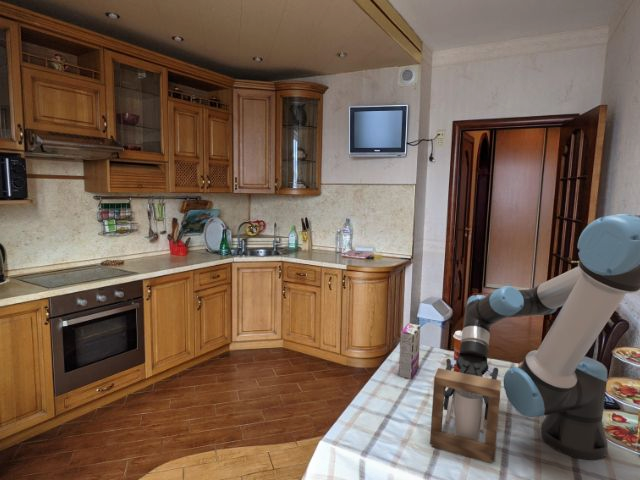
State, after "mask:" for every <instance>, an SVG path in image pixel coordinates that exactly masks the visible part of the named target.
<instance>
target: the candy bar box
mask: <svg viewBox="0 0 640 480" xmlns="http://www.w3.org/2000/svg"><path fill="white" fill-rule="evenodd" d="M420 339H421V325H420V324H414V323H407V324H406V325H405V327H403V329H402V330H401V331H400V340H399V360H398V362H399V363H398V377H401V378H403V377H404V378H405V379H410V380H413V378H414V376H415V374H416V373H417V371H418V369H419V365H420V364H419V363H420V345H421V343H420V342H421V340H420Z"/></svg>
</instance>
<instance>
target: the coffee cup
mask: <svg viewBox="0 0 640 480" xmlns="http://www.w3.org/2000/svg"><path fill="white" fill-rule="evenodd" d="M462 331H463V330H456V331H455V332H454V334H453V335H452V336H453V360H457V359H458V357H459V352H460V345H461V338H462ZM453 371H455V372H459V368H458V366H457V365H455V366H454V368H453Z"/></svg>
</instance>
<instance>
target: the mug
mask: <svg viewBox="0 0 640 480" xmlns="http://www.w3.org/2000/svg"><path fill="white" fill-rule="evenodd" d="M451 397H452V399H453V402H452V413H453V416H454V423H453V424H454V425H453V426H454V429H453V430H454V432H453V433H454V434H453V435H455V436H459V437H463V438H467V439H471V440H475V441H478V442H479V440H480V438H481V436H480V435H481V433H480V423H481V414H482V405H483V404H484V399H483V395H480V394H476V393H471V392H467V391H462V390H457V389H454V392H453V394H452V396H451Z"/></svg>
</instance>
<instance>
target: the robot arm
mask: <svg viewBox="0 0 640 480" xmlns="http://www.w3.org/2000/svg"><path fill="white" fill-rule="evenodd" d="M577 249H578V253H577V254H578V259H579V261H578V264H577V266H575V267H574V268H572V269H570V270H568V271H565V272H564V273H562V274H560V275H557V276H555V277H552V278H551V279H549V280H547V281H544V282H542V283H540V284H538V285H537V286H534V287H532V288H529V289H517V288H515V287H513V286H511V285H505V286H502V287H500V288H497V289H495V290H494V291H492V292H491V293H490V294H488V295H487V296H486V295H483V294H476V295H471V296H470V297H468V299H467V302H466V305H465V309H464V311H465V312H464V317H463V318H464V319H463V325H462V330H461V331H462V338H461V345H460V352H459V357H458V359H457V360H454V359H450V358H446V360H445V361H446V363H445V365H446V367H445V370H450V371H452V370H454V366H455V365H457V366H458V368H459V372H460V373H465V374H470V375H475V376H480V377H484V376H483V375H485V374H486V373H487V372H488V375H489V377H491V379H495V380H498V376H499V368H498V367H491V366H489V363H488V358H489V357H488V356H489V346H490V337H491V328H492V325H494V324H496V323H498V322H500V321H502V320H505V319H507V318H508V319H509V318H519V317H520V318H521V317H523V318H524V317H530V316H546V315H549V314H550V315H551V314H553V313H555V312H557V310H558V308H561V309H560V311H559V312H558V314H557V315H556V317H555V320H554V321H553V323H552V325H551V326H550V328H549V329H548V332H547V333H546V335H545V336H544V339H543V340H542V342H541V344H540V346H539V347H538V349H537V350H536V349H534V350H531V351H529V352H528V353H527V354H526V355H525V357H524V359H523V361H521V362H522V364H521V366H519V365H518V366H519V367H517V366H513V367H511V368H509V369H507V371H505V373H504V376H503V389H504V392H505V395H506V397H507V399H508V401H509V403H510V404H511V406H512V407H513V408H514V410H516V412H517V413H519V414H520V415H522V416H524V417H527V418H528V417H529V418H533V417H534V418H535V417H536V418H540V417H544V416H545V417H544V419H543V420H542V423H541V425H540V431H539V432H540V437H541V438H542V440H543V441H544V442H545V443H546V444H547V445H549V446H550V447H551V448H552V449H554V450H556V451H559V452H560V453H563V454H564V455H568V456H571V457H574V458H577V459H578V458H579V459H583V460H591V461H592V460H601V459H603V458H605V457H606V456H607V454H608V446H609V443H608V439H607V435H606V432H605V428H604V424H603V415H604V408H605V401H606V400H605V399H606V391H607V385H608V382H609V381H608V369H607V367H606V366H605V365H604V364H603V363H602V362H600V361H598V360H595V359H594V358H591V357H589V356H586V355H587V353H588V352H589V350H591V347H592V346H593V345H594V343H595V342H596V340H597V338H598V337H599V335H600V334H601V332H602V331H603V330H604V328H605V326H606V324H607V323H608V322H609V320H610V319H611V317H612V316H613V314H614V312H615V311H616V309H617V308H618V306H619V305H620V303H621V302H622V300H623V298H624V297H625V296H626V295H627V294H634V293H638V292H639V291H640V215H637V214H636V215H635V214H630V213H629V214H627V213H619V214H618V213H617V214H614V215H606V216H601V217H598V218H596V219H595V220H593V221H592V222H590V223H589V224H587V225H586V227H585V228H584V229H583V230H582V232H581V233H580V236H579V238H578V241H577ZM446 388H447V390H446ZM453 392H454V389H453V388H448V387H445V390H444V405H443V411H446V415H445V424H446V425H448V426H450V421H451V415H452V410H453V407H452V402H453V399H452V395H453ZM488 402H489V396H485V395H483V405H482V414H481V423H480V434H484V428H485V427H484V426H485V420H486V421H487V414H488ZM605 455H606V456H605ZM604 456H605V457H604Z"/></svg>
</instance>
